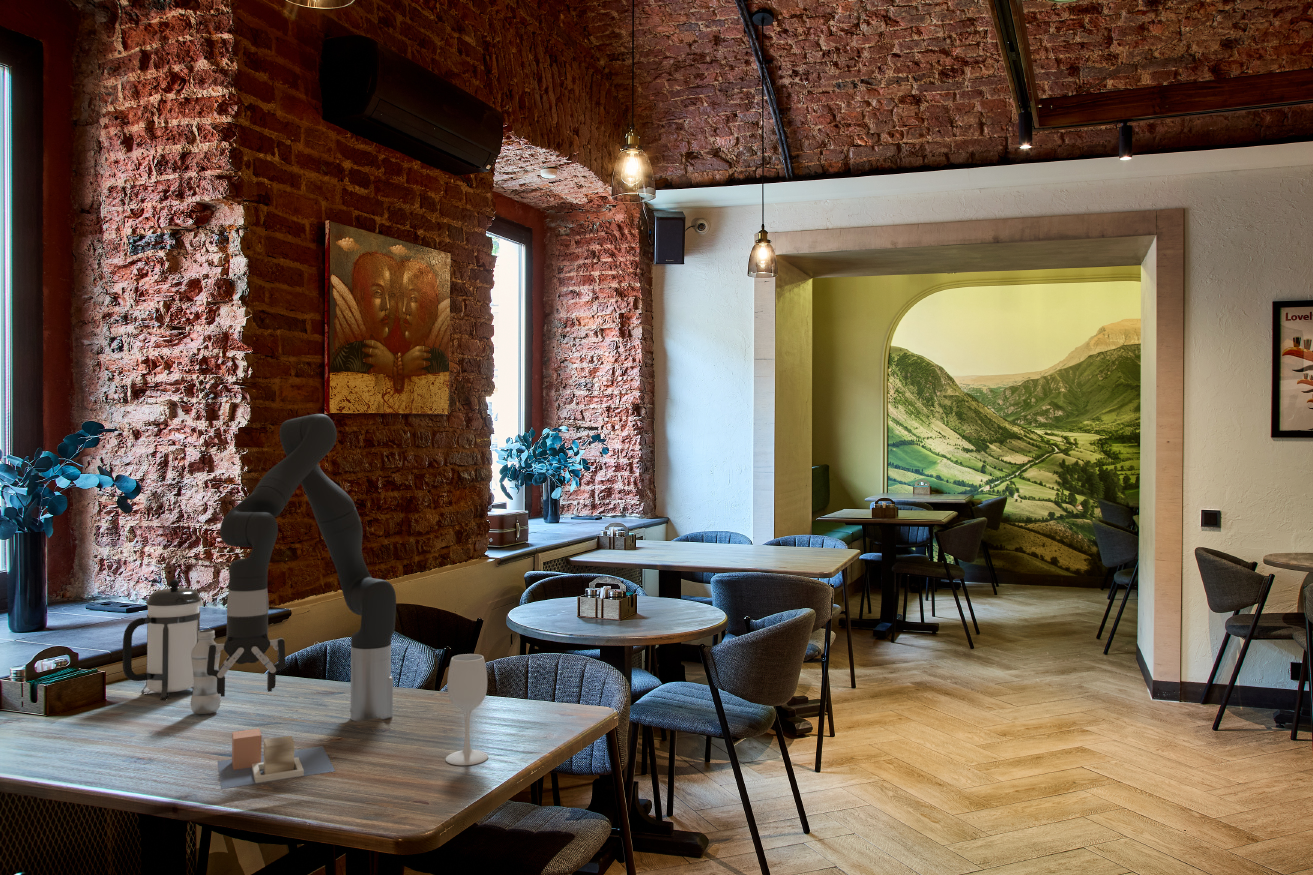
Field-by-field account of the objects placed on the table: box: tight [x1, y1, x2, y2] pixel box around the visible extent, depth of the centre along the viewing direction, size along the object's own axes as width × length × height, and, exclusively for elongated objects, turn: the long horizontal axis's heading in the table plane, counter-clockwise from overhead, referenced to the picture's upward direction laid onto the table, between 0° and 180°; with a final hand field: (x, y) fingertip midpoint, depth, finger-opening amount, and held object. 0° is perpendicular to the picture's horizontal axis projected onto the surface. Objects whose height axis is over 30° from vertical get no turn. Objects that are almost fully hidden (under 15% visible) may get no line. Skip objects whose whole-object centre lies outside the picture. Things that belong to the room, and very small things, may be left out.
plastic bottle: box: [189, 629, 222, 715], centre depth 220 cm, size 6×7×20 cm
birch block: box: [263, 735, 295, 774], centre depth 175 cm, size 5×5×6 cm
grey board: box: [217, 746, 336, 790], centre depth 179 cm, size 20×17×2 cm
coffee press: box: [122, 579, 204, 701], centre depth 238 cm, size 17×16×30 cm
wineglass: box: [445, 653, 489, 766], centre depth 188 cm, size 9×9×21 cm
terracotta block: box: [231, 728, 263, 770], centre depth 180 cm, size 5×5×6 cm
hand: (246, 693), depth 180 cm, fingers open, 8 cm apart
